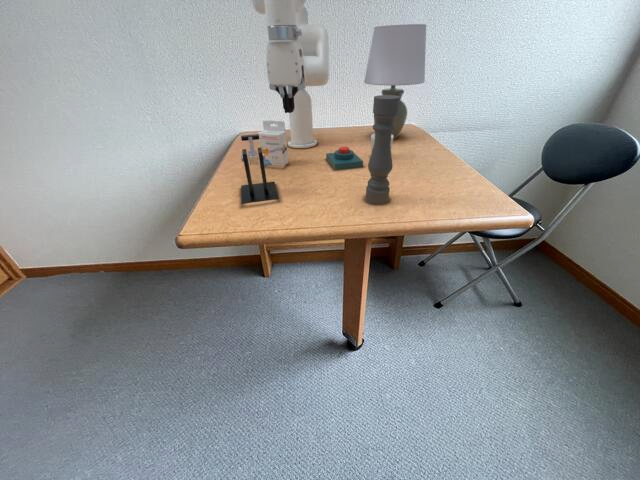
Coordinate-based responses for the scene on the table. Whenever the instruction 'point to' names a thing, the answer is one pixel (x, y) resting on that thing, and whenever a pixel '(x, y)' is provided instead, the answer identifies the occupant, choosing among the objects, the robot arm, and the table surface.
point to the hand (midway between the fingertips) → (289, 111)
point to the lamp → (397, 62)
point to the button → (344, 150)
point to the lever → (251, 147)
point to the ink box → (274, 143)
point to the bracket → (259, 190)
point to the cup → (374, 140)
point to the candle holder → (382, 148)
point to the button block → (344, 160)
